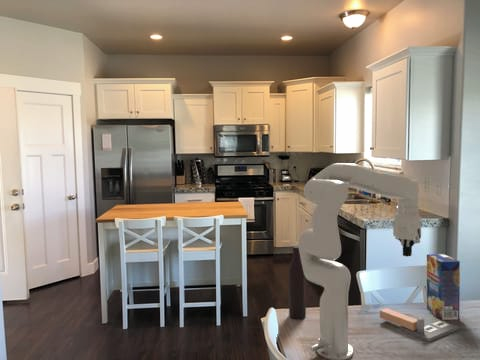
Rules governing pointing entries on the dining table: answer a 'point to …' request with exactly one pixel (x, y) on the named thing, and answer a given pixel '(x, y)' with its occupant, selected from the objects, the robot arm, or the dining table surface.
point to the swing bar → (399, 318)
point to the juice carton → (443, 286)
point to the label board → (431, 328)
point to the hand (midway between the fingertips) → (407, 255)
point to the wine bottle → (296, 287)
